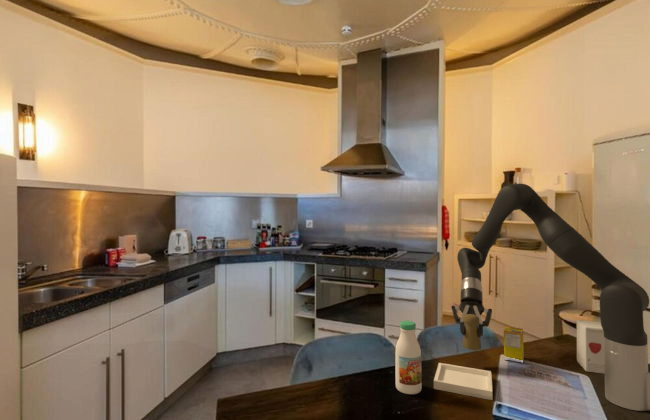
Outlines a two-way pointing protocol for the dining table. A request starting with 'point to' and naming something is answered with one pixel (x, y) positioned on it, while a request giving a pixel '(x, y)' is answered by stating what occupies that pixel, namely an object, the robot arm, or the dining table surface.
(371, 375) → the dining table surface
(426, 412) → the dining table surface
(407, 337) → the milk bottle
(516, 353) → the supplement box
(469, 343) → the cork
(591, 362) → the supplement box
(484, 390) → the tray
